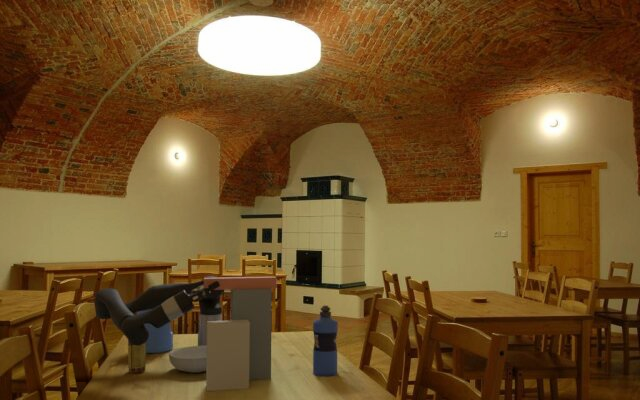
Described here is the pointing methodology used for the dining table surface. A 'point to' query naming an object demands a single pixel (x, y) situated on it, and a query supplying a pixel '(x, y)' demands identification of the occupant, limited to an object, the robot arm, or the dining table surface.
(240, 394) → the dining table surface
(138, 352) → the sauce bottle
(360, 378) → the dining table surface
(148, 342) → the water jug
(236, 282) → the bar
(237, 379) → the stand
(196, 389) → the dining table surface
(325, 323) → the water bottle
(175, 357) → the serving bowl
